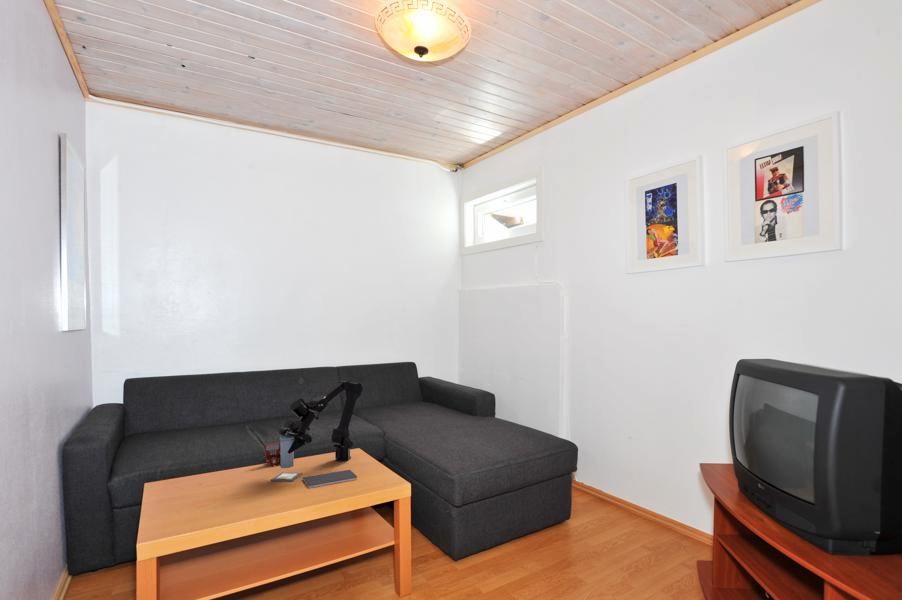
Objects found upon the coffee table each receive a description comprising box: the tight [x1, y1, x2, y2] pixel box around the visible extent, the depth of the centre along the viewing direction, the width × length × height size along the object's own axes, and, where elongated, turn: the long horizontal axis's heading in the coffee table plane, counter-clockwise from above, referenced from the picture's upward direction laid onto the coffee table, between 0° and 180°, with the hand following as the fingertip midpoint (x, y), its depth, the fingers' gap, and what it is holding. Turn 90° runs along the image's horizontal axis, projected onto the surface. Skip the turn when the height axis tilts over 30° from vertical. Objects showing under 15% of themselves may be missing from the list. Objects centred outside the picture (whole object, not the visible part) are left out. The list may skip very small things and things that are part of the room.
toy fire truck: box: [264, 442, 281, 467], centre depth 231 cm, size 7×12×10 cm, turn 125°
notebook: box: [302, 469, 358, 489], centre depth 204 cm, size 13×2×21 cm
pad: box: [270, 472, 303, 482], centre depth 208 cm, size 10×10×1 cm
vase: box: [279, 436, 295, 469], centre depth 209 cm, size 6×6×13 cm
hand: (284, 452), depth 208 cm, fingers closed on vase, 6 cm apart
